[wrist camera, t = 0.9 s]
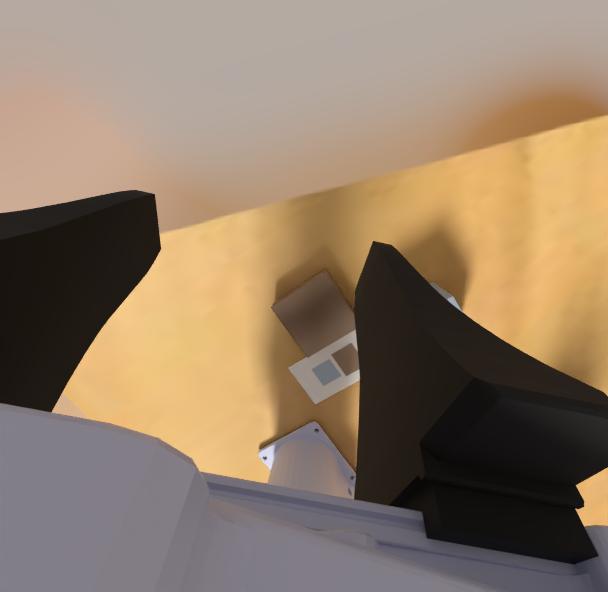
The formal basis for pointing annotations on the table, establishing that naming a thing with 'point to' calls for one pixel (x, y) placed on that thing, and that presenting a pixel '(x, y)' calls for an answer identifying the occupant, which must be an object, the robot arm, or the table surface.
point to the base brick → (315, 313)
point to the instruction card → (329, 369)
